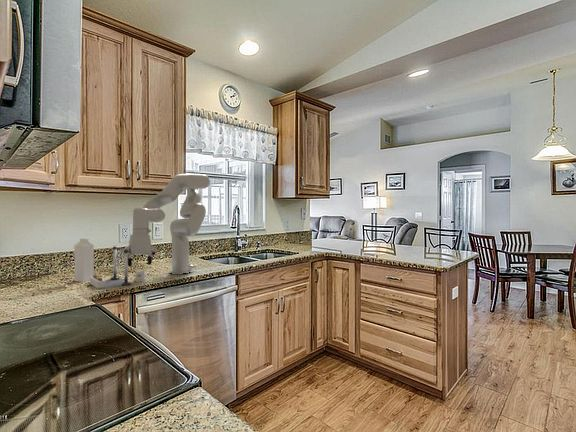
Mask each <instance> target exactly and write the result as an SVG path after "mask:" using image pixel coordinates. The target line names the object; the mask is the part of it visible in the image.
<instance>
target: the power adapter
mask: <svg viewBox="0 0 576 432" xmlns="http://www.w3.org/2000/svg"><path fill="white" fill-rule="evenodd" d="M147 274H148V272H147V271H145V269H138V270H136V271H135V282H137V283H139V282H145V280H146V276H147Z"/></svg>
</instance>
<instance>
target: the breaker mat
mask: <svg viewBox="0 0 576 432" xmlns="http://www.w3.org/2000/svg"><path fill="white" fill-rule="evenodd" d="M123 282H125V279H123V278H122V277H119V279H118V280H111V278H110V279H104V278H102V277H100V276H99V275H98V274H94V275H93V277H90V281H87V283H88V284H89V285H91V286H92V287H94V288H95V289H97V290H98V291H101V290H110V289H115V288H122V287H124V286H122V285H121V283H123ZM129 286H134V283H132V282H131V285H129ZM129 286H128V287H129Z"/></svg>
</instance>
